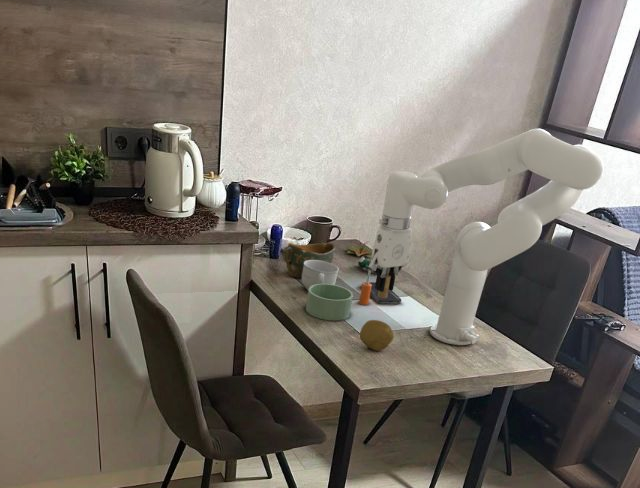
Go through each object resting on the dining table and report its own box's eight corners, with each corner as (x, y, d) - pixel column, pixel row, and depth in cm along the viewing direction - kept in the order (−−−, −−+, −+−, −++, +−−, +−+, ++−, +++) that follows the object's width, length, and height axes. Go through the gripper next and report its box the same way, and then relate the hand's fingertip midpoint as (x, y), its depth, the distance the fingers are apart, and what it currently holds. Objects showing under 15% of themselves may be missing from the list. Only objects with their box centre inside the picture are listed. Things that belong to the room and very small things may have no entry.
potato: (355, 343, 193) (361, 315, 189) (382, 343, 195) (388, 315, 191) (363, 354, 188) (369, 326, 183) (391, 354, 189) (397, 326, 185)
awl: (389, 297, 200) (395, 262, 195) (381, 298, 199) (388, 263, 194) (383, 294, 202) (389, 259, 197) (375, 295, 201) (382, 260, 195)
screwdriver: (369, 304, 218) (376, 272, 212) (362, 305, 217) (368, 273, 211) (364, 301, 220) (370, 269, 214) (357, 302, 218) (363, 269, 213)
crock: (358, 317, 208) (361, 297, 205) (322, 323, 202) (325, 302, 199) (332, 301, 217) (335, 281, 213) (297, 305, 210) (299, 286, 207)
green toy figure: (358, 271, 247) (354, 262, 242) (363, 262, 248) (359, 252, 242) (381, 279, 244) (378, 270, 238) (387, 270, 244) (383, 260, 239)
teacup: (303, 281, 228) (307, 256, 224) (337, 287, 227) (341, 262, 222) (295, 296, 216) (298, 270, 212) (330, 303, 215) (334, 277, 211)
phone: (383, 282, 232) (402, 300, 220) (382, 285, 233) (401, 303, 221) (360, 282, 230) (379, 300, 218) (360, 285, 230) (378, 303, 219)
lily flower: (340, 255, 255) (343, 242, 252) (347, 245, 264) (349, 233, 262) (374, 261, 253) (376, 248, 250) (379, 252, 263) (381, 239, 260)
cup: (270, 265, 237) (274, 234, 231) (328, 267, 242) (333, 236, 237) (280, 279, 227) (284, 248, 221) (340, 281, 232) (345, 249, 227)
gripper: (381, 228, 183) (369, 298, 193) (428, 223, 191) (414, 290, 201) (362, 220, 188) (352, 288, 198) (409, 216, 196) (397, 281, 206)
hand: (383, 288), depth 199 cm, fingers closed on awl, 2 cm apart
